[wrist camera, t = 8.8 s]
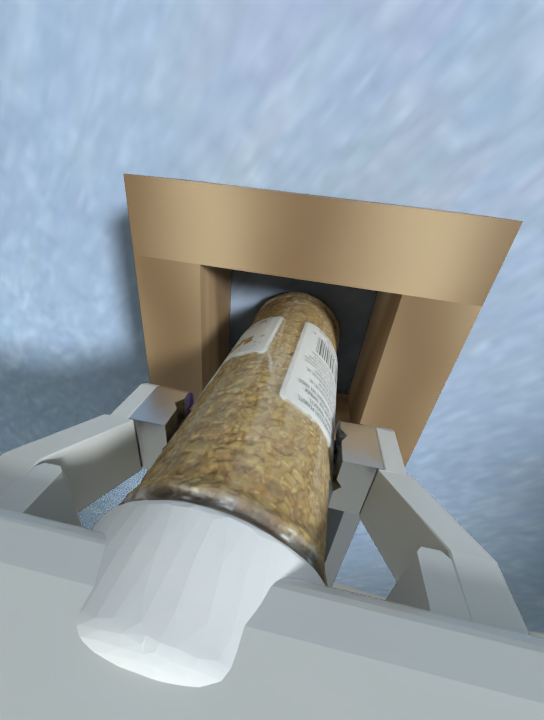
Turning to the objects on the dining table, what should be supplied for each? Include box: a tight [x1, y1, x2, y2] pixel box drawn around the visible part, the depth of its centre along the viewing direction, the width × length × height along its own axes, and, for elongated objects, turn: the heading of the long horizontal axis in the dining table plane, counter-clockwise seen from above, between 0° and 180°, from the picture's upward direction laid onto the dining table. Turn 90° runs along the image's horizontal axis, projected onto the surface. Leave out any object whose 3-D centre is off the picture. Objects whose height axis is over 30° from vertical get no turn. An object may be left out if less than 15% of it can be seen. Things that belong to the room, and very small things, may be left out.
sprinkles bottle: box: [76, 292, 340, 687], centre depth 10 cm, size 5×5×14 cm
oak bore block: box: [124, 174, 523, 478], centre depth 14 cm, size 12×12×4 cm
